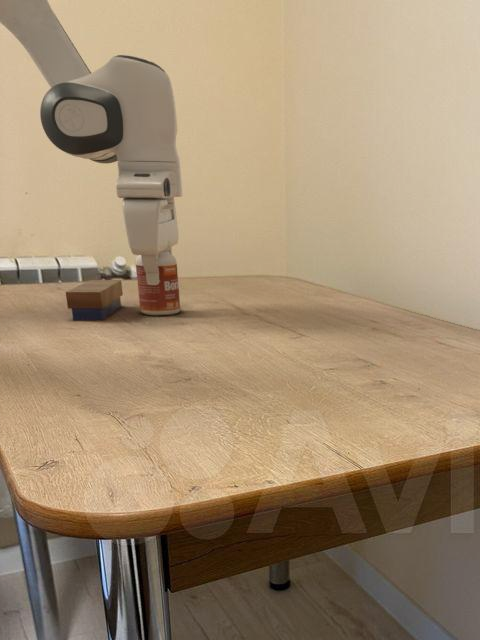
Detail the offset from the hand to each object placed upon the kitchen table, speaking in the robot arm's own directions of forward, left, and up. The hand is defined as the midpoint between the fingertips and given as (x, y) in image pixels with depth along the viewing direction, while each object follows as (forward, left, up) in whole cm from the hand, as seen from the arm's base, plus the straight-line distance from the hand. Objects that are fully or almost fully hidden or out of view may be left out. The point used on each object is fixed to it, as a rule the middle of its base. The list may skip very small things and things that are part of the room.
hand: (160, 280), depth 110 cm
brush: (-10, 0, -5) cm, 11 cm away
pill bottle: (0, +1, -5) cm, 5 cm away
